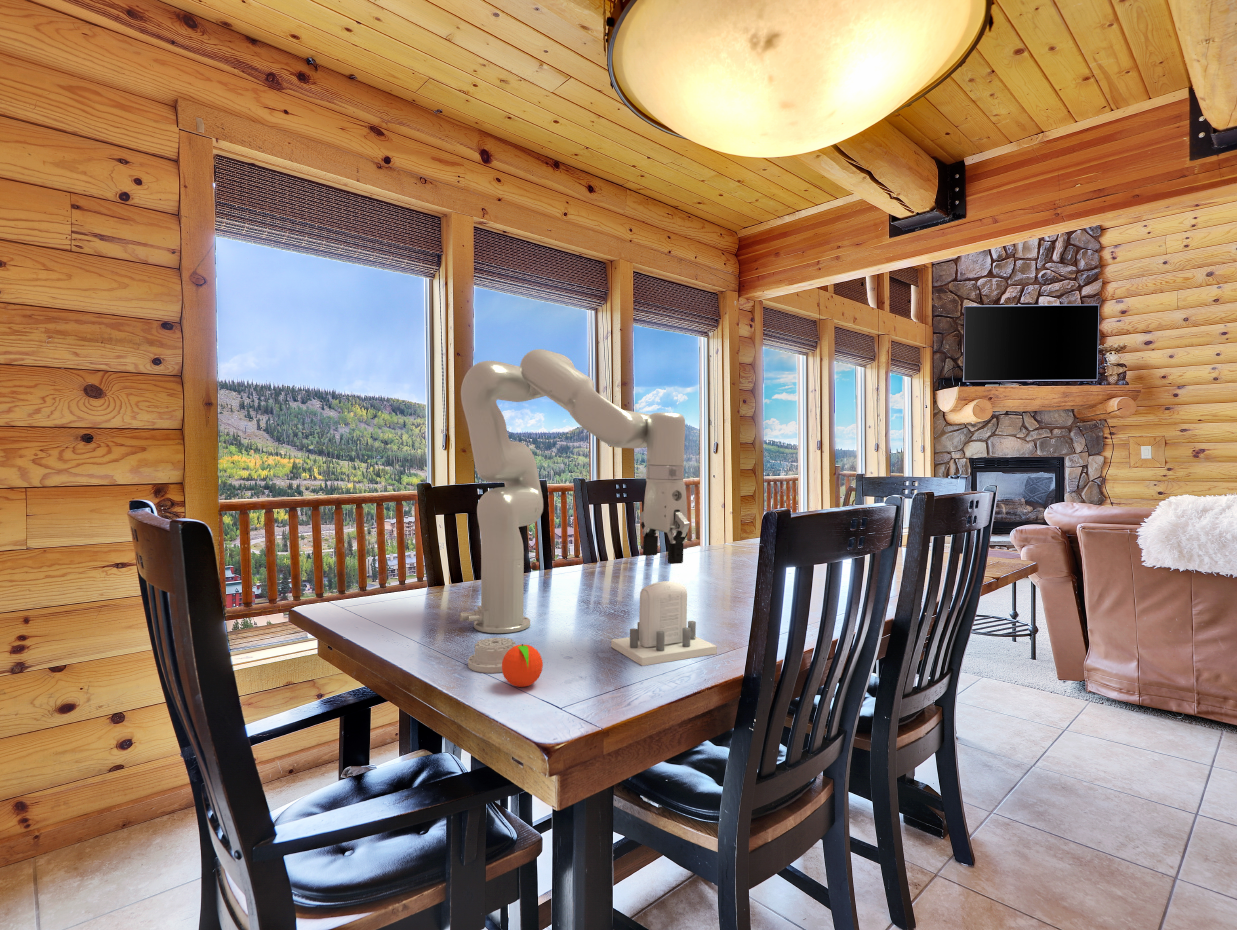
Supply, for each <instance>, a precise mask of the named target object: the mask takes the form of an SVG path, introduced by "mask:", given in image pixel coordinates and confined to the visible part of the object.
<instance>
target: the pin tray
mask: <svg viewBox="0 0 1237 930" xmlns="http://www.w3.org/2000/svg"><path fill="white" fill-rule="evenodd" d="M696 623H697V622H696V621H694V620H687V627H685V628H682V642H678V643H672V644H665V645H664V643H665V632H664V631H657V632H656V646H652V647H644V646H642V645H640V642H639V621H637V628H634V627H633V628H630V629H629V636H627V637H622V638H615V639H614V638H613V639H611V641H610V643H611V647H610V648H612V649H614V650H615V651H617V652H618V653H621V654H623V655H624V656H625V657H627V658H629V659H630V660H632V661H634V662H635V663H637V664H639V665H640V666H642V667H643V666H649V665H650V666H651V665H655V664H663V663H669V662H672V661H681V660H686V659H693V658H699V657H705V656H711V655H716V654H718V646H717V645H715V644H714V643H712V642H708V641H707V640H704V639H702V638H700V637H698V636H696V632H697V631H696V629H697V628H696V627H697V625H696Z"/></svg>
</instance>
